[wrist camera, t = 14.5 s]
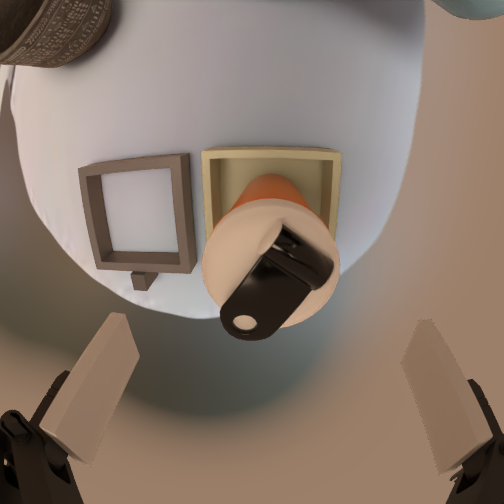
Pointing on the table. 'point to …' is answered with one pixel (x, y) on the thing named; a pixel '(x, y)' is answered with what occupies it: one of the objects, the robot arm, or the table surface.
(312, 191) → the sage holder
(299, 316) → the shaker bottle
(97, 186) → the collar
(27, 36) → the planter
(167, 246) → the table surface
